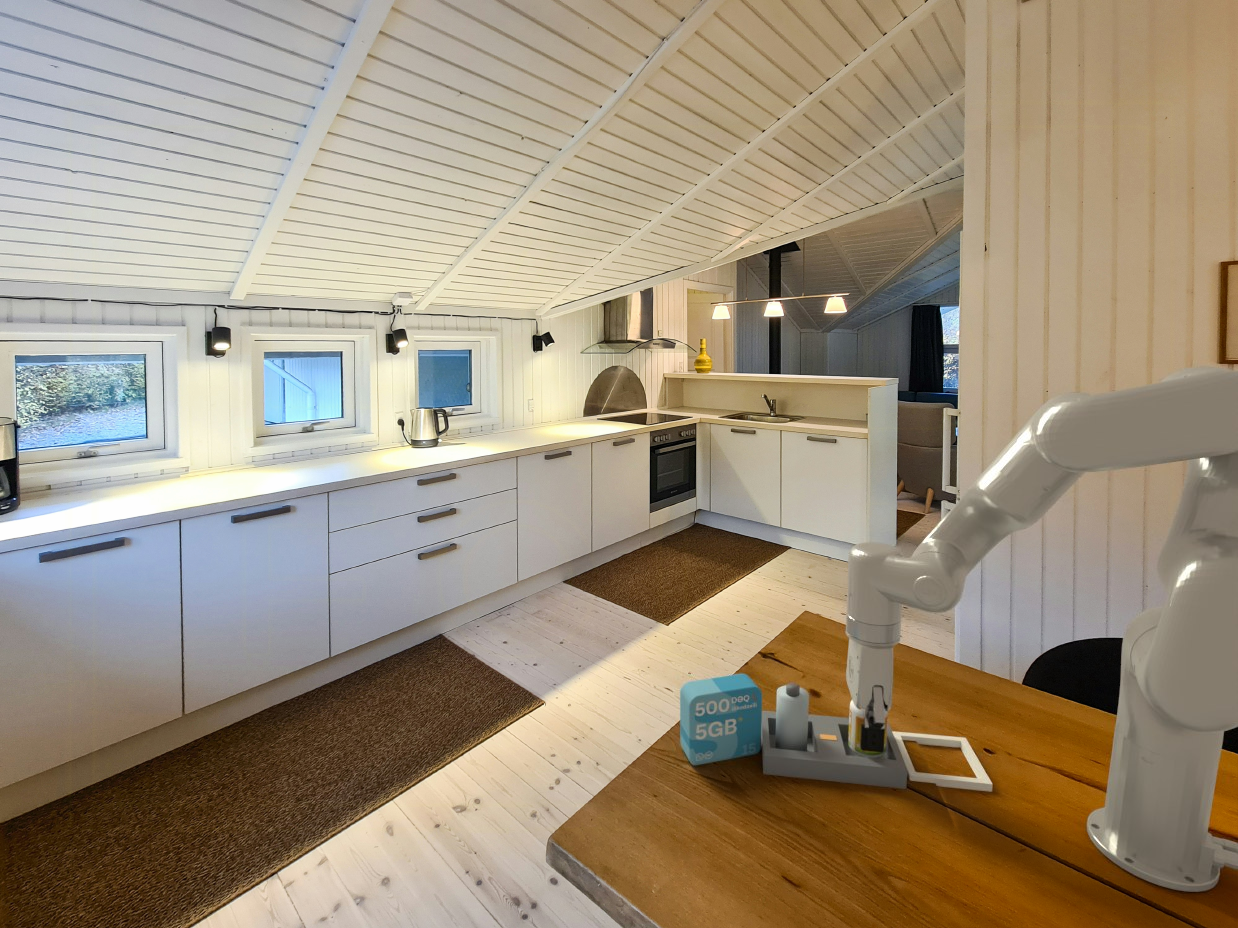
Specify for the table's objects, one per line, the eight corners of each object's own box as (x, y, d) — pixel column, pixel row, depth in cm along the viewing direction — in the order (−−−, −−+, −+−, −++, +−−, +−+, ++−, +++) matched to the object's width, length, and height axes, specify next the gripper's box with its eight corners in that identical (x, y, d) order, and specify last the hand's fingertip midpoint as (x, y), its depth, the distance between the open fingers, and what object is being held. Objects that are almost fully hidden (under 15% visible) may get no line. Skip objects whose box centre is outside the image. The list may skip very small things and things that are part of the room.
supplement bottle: (893, 755, 93) (897, 696, 92) (863, 762, 92) (866, 702, 90) (869, 734, 98) (872, 678, 97) (840, 741, 97) (843, 684, 95)
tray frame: (964, 744, 99) (965, 737, 99) (991, 791, 89) (992, 784, 88) (891, 737, 101) (892, 731, 101) (909, 783, 91) (910, 775, 90)
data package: (689, 769, 95) (689, 697, 93) (679, 751, 99) (679, 682, 97) (761, 755, 98) (762, 685, 96) (748, 738, 102) (750, 671, 100)
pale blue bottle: (805, 743, 99) (807, 679, 97) (808, 762, 95) (810, 695, 93) (774, 740, 100) (776, 676, 98) (776, 759, 96) (777, 693, 94)
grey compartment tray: (886, 740, 101) (887, 720, 100) (905, 791, 89) (907, 768, 88) (760, 729, 104) (761, 709, 104) (763, 776, 93) (763, 754, 92)
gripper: (837, 602, 101) (833, 704, 104) (856, 651, 84) (851, 771, 87) (886, 605, 99) (881, 708, 102) (915, 655, 83) (908, 777, 86)
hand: (867, 736), depth 95 cm, fingers closed on supplement bottle, 5 cm apart
